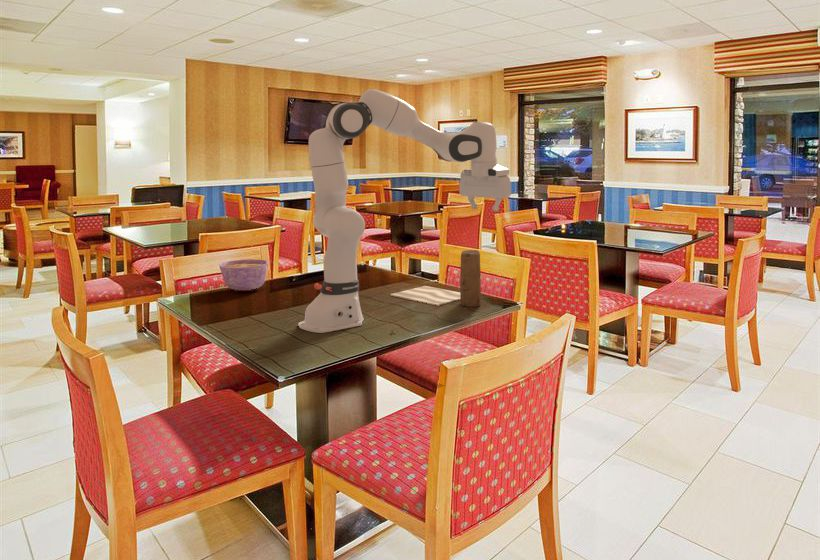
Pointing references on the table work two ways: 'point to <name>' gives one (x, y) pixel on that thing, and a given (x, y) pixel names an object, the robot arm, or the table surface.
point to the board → (429, 295)
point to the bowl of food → (244, 273)
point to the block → (470, 278)
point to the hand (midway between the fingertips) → (484, 209)
